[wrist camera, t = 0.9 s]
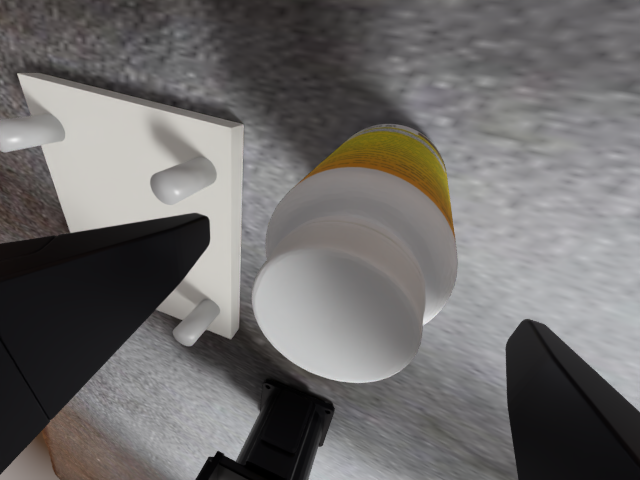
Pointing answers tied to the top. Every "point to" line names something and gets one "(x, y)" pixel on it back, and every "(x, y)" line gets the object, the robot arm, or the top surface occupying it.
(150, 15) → the top surface
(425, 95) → the top surface
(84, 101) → the pin tray
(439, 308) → the supplement bottle
